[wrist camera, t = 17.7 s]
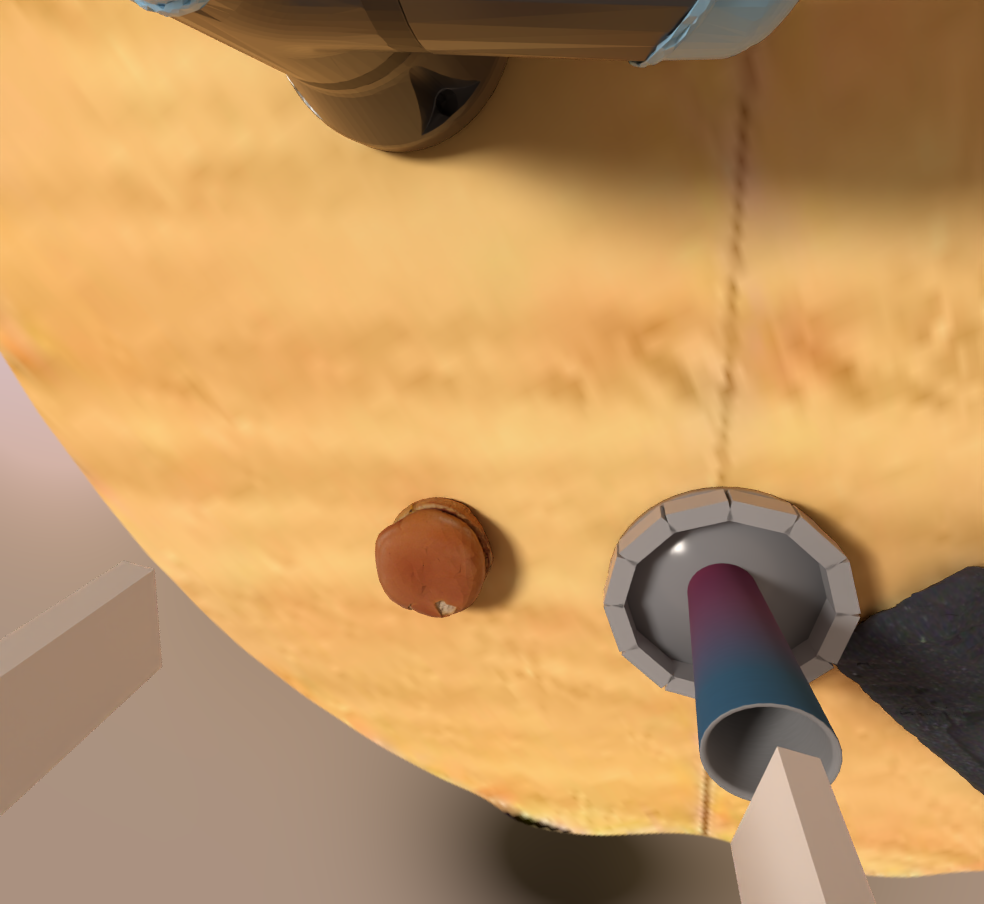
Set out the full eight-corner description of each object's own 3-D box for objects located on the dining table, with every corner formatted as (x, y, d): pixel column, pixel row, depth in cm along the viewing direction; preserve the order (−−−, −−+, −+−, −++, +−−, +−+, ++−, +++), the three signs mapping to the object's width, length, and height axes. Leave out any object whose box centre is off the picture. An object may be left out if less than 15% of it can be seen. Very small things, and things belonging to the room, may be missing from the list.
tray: (587, 643, 48) (585, 667, 46) (637, 463, 42) (638, 479, 39) (793, 699, 46) (804, 729, 43) (880, 518, 40) (899, 538, 37)
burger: (437, 473, 46) (418, 498, 42) (518, 551, 47) (508, 582, 43) (366, 543, 50) (342, 571, 46) (442, 613, 51) (426, 647, 47)
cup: (657, 580, 44) (673, 735, 30) (736, 536, 41) (793, 683, 27) (708, 642, 45) (747, 820, 31) (789, 603, 42) (870, 778, 28)
